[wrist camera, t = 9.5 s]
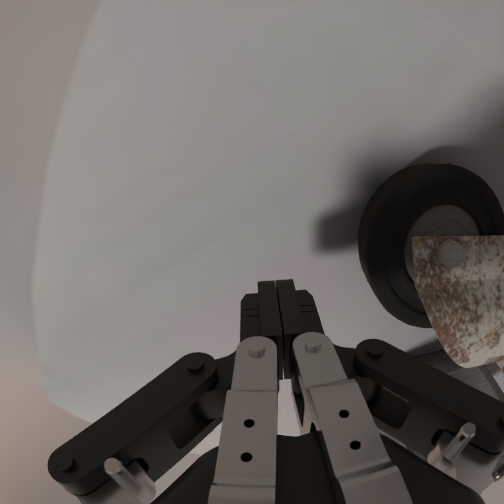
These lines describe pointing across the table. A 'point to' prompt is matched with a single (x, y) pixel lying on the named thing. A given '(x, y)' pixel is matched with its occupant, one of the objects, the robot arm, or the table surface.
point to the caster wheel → (439, 258)
